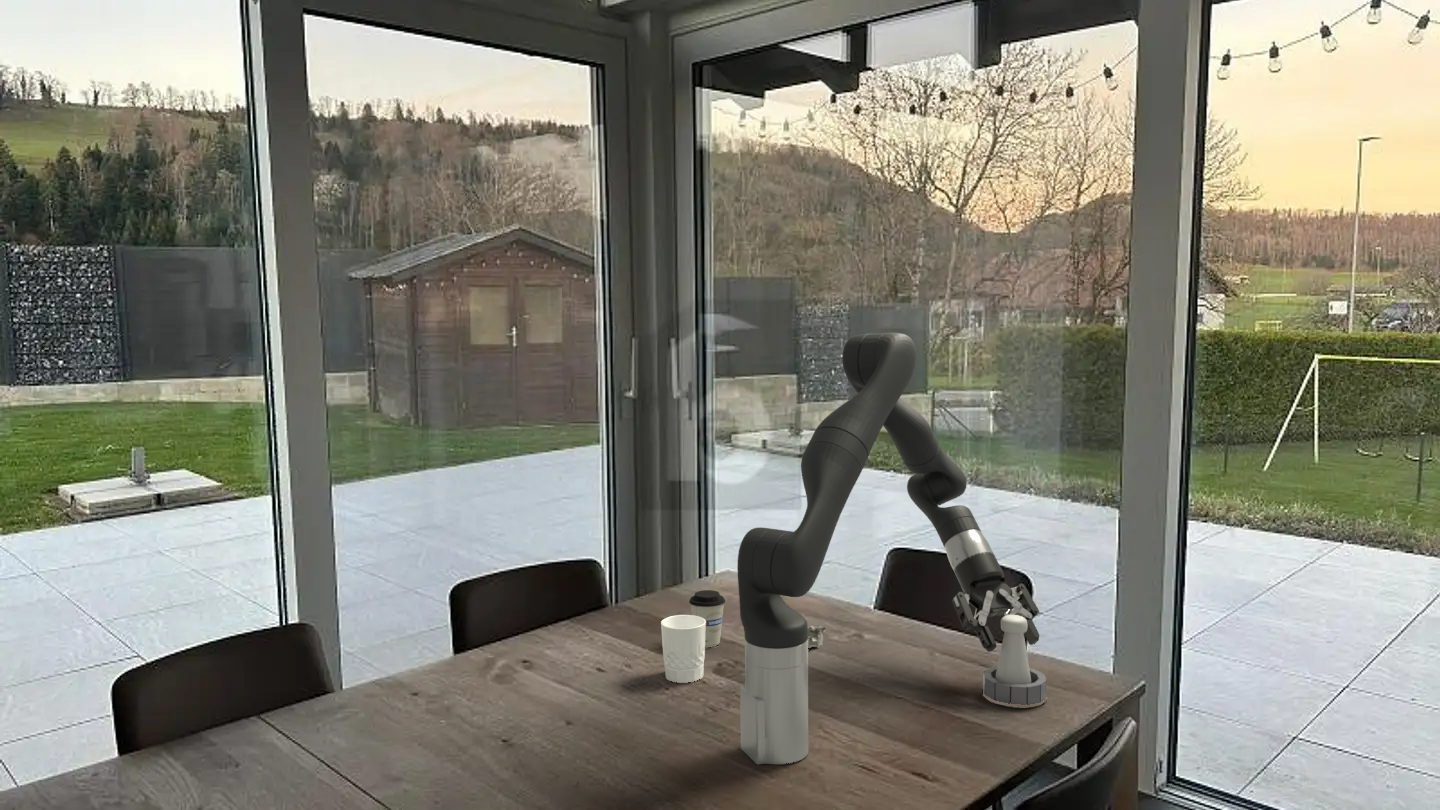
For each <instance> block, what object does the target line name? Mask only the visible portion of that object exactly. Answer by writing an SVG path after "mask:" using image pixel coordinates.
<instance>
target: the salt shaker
mask: <svg viewBox="0 0 1440 810" xmlns="http://www.w3.org/2000/svg"><path fill="white" fill-rule="evenodd" d="M1027 628H1028V625H1027V620H1026V619H1025V618H1024V617H1023V616H1022V615H1021V616H1018V615H1003V617H1002V618H1001V619H1000V629H1001V631H1003V632H1004V633H1003V639H1002V642H1001V643H1002V644H1001V647H1000V648H1001V649H1000V653H999V658H998V662H997V665H996V666H997V670H996V675H995V679H996V680H998V681H1001V682H1005V683H1009V684H1030V683H1031V676H1030V669H1029V668H1030V665H1029V658H1028V657H1029V656H1028V651H1027V646H1026V645H1027V644H1026V641H1025V640H1026V639H1025V638H1026V637H1025V634H1024V633H1025V632H1026V631H1027Z"/></svg>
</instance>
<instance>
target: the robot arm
mask: <svg viewBox="0 0 1440 810" xmlns="http://www.w3.org/2000/svg"><path fill="white" fill-rule="evenodd" d="M841 361H842V368H843V371H844V373H845V376H846V378H847V380H848V381H849V383H850V385H851V386H852V388H853V389H854V390H855V392H856V394H855V395H854V396H852V397H851V398H850V399H848V400H846V402H844V403H842V405H840V406H839V407H837V408H836V409H834V411H832V412H831V413H830V414H828V415H827V416H826V417H825V418H824V419H823V420H822V421H821V422H820V423H819V424H818V426H817V427H816V429H815V430H814V432H813V434H812V436H811V438H810V439H809V442H808V444H807V446H806V448H805V449H804V452H803V454H802V457H801V462H800V471H801V477H802V483H803V487H804V490H805V496H806V504H807V505H806V510H805V514H804V515H803V517H802V521H801V522H800V524H799V526H798V527H797V528H796V529H795V530H794V531H790V530H785V529H783V530H782V529H776V528H769V527H761V526H760V527H754V528H752V529H749V530H748V532H746V534H745V535H744V536H743V538H742V540H741V543H740V545H739V549H738V554H737V567H736V568H737V584H738V599H739V616H740V620H741V625H742V626H743V630H744V631H743V632H744V685H743V686H742V685H741V686H740V688H739V704H740V705H739V707H740V708H739V711H740V712H739V713H740V718H739V719H740V721H739V722H740V724H739V725H740V749H741V750H742V751H743V753H745V754H746V755H747V756H748V757H749V758H750V759H751V760H752V761H753V762H754V763H755V764H756V765H764V764H765V765H767V764H769V765H786V763H787V764H788V763H789V764H793V762H794V763H797V762H799V761H801V760H803V759H805V758H806V757H807V755H808V754H809V649H808V626H809V625H808V622H807V620H806V618H805V617H804V616H803V615H802V613H800V612H798V611H797V610H794V609H793V608H792V607H791V606H790V605H789V604H787V602H785V601H784V599H783V597H787V598H799V597H803V596H805V595H806V594H807V593H808V592H809V591H810V590H811V589H812V588H813V586H814V584H815V582H816V580H817V579H818V576H819V574H820V571H821V568H822V566H823V563H824V560H825V557H826V555H827V552H828V549H829V546H830V544H831V540H832V537H833V535H834V532H835V530H836V526H837V525H838V521H839V519H840V517H841V514H842V512H843V510H844V508H845V506H846V503H847V501H848V500H849V497H850V495H851V493H852V491H853V489H854V487H855V485H856V483H857V481H858V480H859V477H860V476H861V473H862V471H863V469H864V467H865V465H866V464H867V463H866V462H868V459H869V456H870V454H871V451H872V449H873V447H874V444H875V443H876V441H877V439H878V436H879V434H880V432H881V430H882V428H883V427H884V429H885V430H886V433H888V435H889V437H890V439H891V441H892V442H893V444H894V446H895V447H896V449H897V451H898V454H899V456H900V458H901V460H902V462H903V464H904V465H905V467H906V469H907V470H908V471H910V472H911V473H913V475H911V476H910V477H909V478H908V481H907V485H906V491H907V493H908V497H909V498H910V499H911V501H912V502H913V504H914V505H915V506H916V507H918V509H919V510H920V511H921V512H922V513H923V515H925V516H926V518H928V520H929V521H930V522H931V524H932V525H933V527H934V529H935V531H936V532H937V535H938V536H939V539H940V541H941V544H942V546H943V547H944V549H945V552H946V555H947V559H948V562H949V563H950V567H951V568H952V570H953V571H954V574H955V576H956V578H957V581H958V582H959V585H960V587H961V590H962V591H958V592H957V594H956V595H955V596H954V597H953V599H951V603H952V605H953V607H954V611H955V612H956V615H957V618H958V620H959V623H960V626H961V627H962V629H963V631H968V630H971V631H973V632H975V633H976V635H977V638H978V640H979V642H980V643H981V644H980V645H981V646H982V647H983V648H984V650H986V651H987V652H988V653H989V652H993V651H994V650H995V649H996V648H997V643H996V641H995V638H994V636H993V634H992V632H991V630H990V628H989V626H988V625H986V624H987V620H988V619H987V618H992V617H995V616H999V617H1000V616H1006V615H1018V616H1022V617H1024V618H1025V619H1026V620H1027V625H1028V628H1027V631H1026V632H1025V633H1024V637H1025V638H1026V640H1027V643H1028V644H1029V645H1030V646H1031V645H1032V646H1033V645H1035V644H1037V643H1038V641H1039V640H1040V632H1039V631H1038V629H1037V627H1036V625H1035V623H1034V619H1035V618H1036V617H1037V615H1038V614H1039V613H1040V610H1039V608H1038V607H1037V604H1036V603H1035V601H1034V599H1033V598H1032V596H1031V594H1030V592H1029V590H1028V589H1027V587H1026V585H1025V584H1024V583H1019V584H1018V585H1017V586H1015V587H1010V586H1009V585H1008V584H1007V583H1006V579H1005V573H1004V571H1003V568H1001V566H1000V564H999V561H998V559H997V558H996V555H995V554H994V551H993V549H992V547H991V546H990V544H989V541H988V540H987V539H986V537H985V536H984V534H983V533H982V530H981V529H980V526H979V524H978V522H977V520H976V518H975V517H974V515H973V512H972V511H971V509H970V508H969V507H968V506H966V505H962V504H961V505H960V504H959V505H952V506H946V507H941V505H943V504H945V503H948V502H950V501H953V500H954V499H956V498H959V497H961V496H962V495H963V494H964V493H965V491H966V489H967V486H968V485H967V484H968V483H967V478H966V475H965V474H964V472H963V470H962V469H961V468H960V467H959V466H958V464H957V463H955V461H954V460H952V459H951V457H949V456H948V455H947V454H946V453H945V452H944V450H943V449H942V447H941V446H940V444H939V441H938V440H937V436H936V435H935V433H934V431H933V428H932V427H931V425H930V423H929V421H927V419H926V418H925V417H924V416H923V415H922V414H921V413H919V412H918V411H917V410H916V409H915V408H914V407H912V406H911V405H910V404H909V403H907V402H906V401H905V400H903V398H901V396H902V395H903V393H904V392H905V390H906V389H907V387H908V385H909V384H910V381H911V380H912V377H913V375H914V372H915V368H916V363H917V349H916V344H915V342H914V340H912V338H911V337H910V336H908V335H907V334H905V333H902V332H901V333H900V332H893V331H892V332H877V333H876V332H875V333H862V334H861V333H860V334H856V335H853V336H851V337H850V338H848V340H847V341H846V343H845V344H844V347H843V351H842V357H841ZM782 596H783V597H782ZM970 605H971V606H972V607H973V608H975V612H974V615H973V611H972V609H971V607H970ZM1011 606H1012V607H1013V608H1012V609H1010V608H1011Z"/></svg>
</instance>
